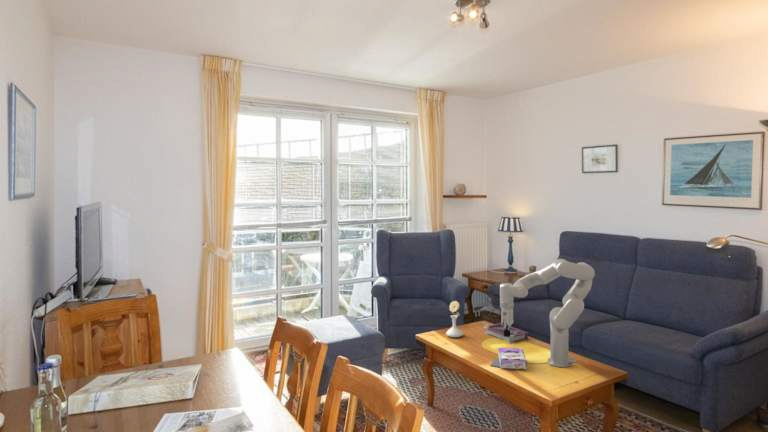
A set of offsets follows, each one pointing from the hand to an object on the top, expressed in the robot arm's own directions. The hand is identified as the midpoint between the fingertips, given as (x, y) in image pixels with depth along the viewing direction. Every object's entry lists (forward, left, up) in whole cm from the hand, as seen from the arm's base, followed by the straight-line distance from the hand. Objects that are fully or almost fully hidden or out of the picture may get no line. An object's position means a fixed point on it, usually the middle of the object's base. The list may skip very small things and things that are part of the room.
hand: (507, 336), depth 255 cm
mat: (0, +5, -15) cm, 15 cm away
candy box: (-1, -4, -11) cm, 12 cm away
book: (+12, -43, -15) cm, 47 cm away
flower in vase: (+42, -29, -15) cm, 53 cm away
